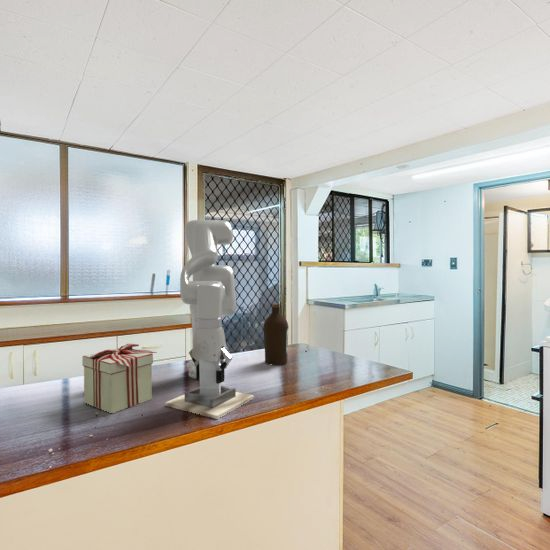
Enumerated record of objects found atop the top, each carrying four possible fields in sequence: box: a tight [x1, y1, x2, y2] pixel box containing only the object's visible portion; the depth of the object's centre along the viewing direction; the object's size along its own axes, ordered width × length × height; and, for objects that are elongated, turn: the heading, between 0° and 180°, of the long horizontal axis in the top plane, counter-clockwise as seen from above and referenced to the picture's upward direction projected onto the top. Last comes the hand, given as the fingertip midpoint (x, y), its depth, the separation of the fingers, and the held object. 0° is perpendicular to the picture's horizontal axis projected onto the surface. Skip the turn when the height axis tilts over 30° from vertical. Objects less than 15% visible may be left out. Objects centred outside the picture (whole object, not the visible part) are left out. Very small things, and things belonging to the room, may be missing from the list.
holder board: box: [165, 385, 255, 420], centre depth 118 cm, size 20×18×4 cm
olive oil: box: [263, 303, 289, 366], centre depth 163 cm, size 11×11×25 cm
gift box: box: [81, 343, 157, 414], centre depth 119 cm, size 17×18×17 cm
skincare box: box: [199, 359, 222, 398], centre depth 118 cm, size 6×4×12 cm
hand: (210, 380), depth 118 cm, fingers closed on skincare box, 7 cm apart
